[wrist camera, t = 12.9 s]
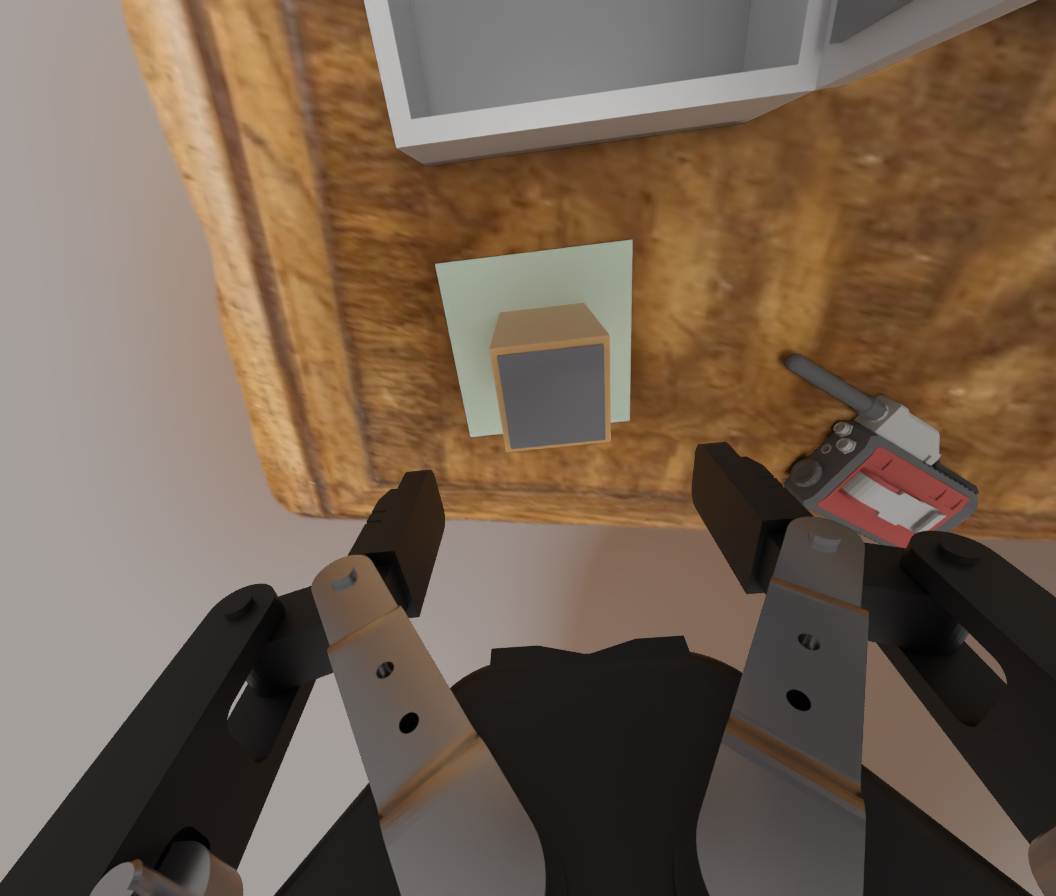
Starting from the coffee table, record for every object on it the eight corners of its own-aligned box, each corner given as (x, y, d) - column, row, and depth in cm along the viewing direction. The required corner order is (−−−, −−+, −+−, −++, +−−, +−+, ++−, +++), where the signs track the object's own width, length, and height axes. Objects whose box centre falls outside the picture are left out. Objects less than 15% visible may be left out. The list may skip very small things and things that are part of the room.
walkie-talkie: (984, 460, 30) (789, 337, 25) (1053, 495, 26) (837, 357, 21) (885, 540, 34) (699, 445, 29) (933, 580, 30) (727, 479, 25)
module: (584, 302, 23) (611, 336, 16) (587, 383, 26) (612, 444, 18) (499, 312, 24) (488, 350, 16) (510, 391, 26) (505, 455, 19)
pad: (630, 239, 22) (632, 239, 22) (628, 418, 27) (629, 420, 27) (436, 263, 23) (434, 264, 22) (471, 434, 28) (470, 437, 28)
